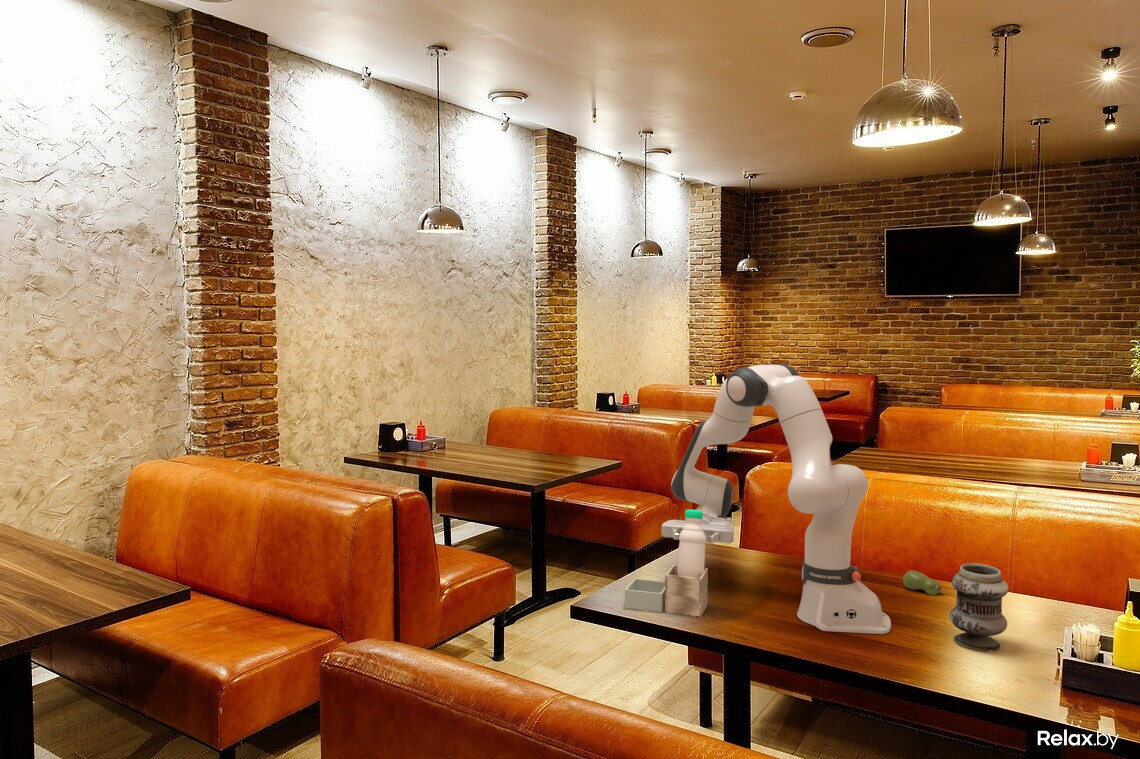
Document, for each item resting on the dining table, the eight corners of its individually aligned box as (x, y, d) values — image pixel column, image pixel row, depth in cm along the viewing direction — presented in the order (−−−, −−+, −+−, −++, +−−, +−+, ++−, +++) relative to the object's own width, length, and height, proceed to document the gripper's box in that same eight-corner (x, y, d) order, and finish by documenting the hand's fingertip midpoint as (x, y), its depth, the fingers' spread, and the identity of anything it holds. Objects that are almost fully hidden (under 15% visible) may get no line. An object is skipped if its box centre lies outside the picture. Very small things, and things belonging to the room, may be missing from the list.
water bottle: (698, 605, 212) (703, 510, 216) (705, 608, 205) (710, 511, 209) (672, 603, 212) (678, 508, 216) (678, 606, 205) (684, 508, 209)
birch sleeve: (707, 604, 212) (707, 568, 212) (700, 617, 203) (701, 578, 203) (672, 600, 215) (672, 564, 215) (665, 612, 207) (665, 575, 206)
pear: (909, 566, 228) (945, 579, 221) (906, 583, 229) (941, 596, 222) (902, 570, 224) (938, 583, 217) (898, 587, 225) (934, 601, 218)
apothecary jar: (976, 656, 179) (978, 578, 178) (937, 636, 190) (939, 563, 189) (1018, 650, 182) (1021, 573, 181) (978, 630, 194) (980, 558, 193)
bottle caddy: (670, 600, 216) (670, 582, 216) (661, 612, 207) (661, 593, 206) (634, 596, 219) (634, 578, 219) (624, 608, 210) (624, 589, 210)
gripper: (666, 512, 233) (655, 523, 220) (737, 518, 226) (730, 530, 213) (666, 533, 233) (655, 546, 220) (736, 540, 227) (730, 553, 214)
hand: (693, 538), depth 217 cm, fingers open, 8 cm apart
